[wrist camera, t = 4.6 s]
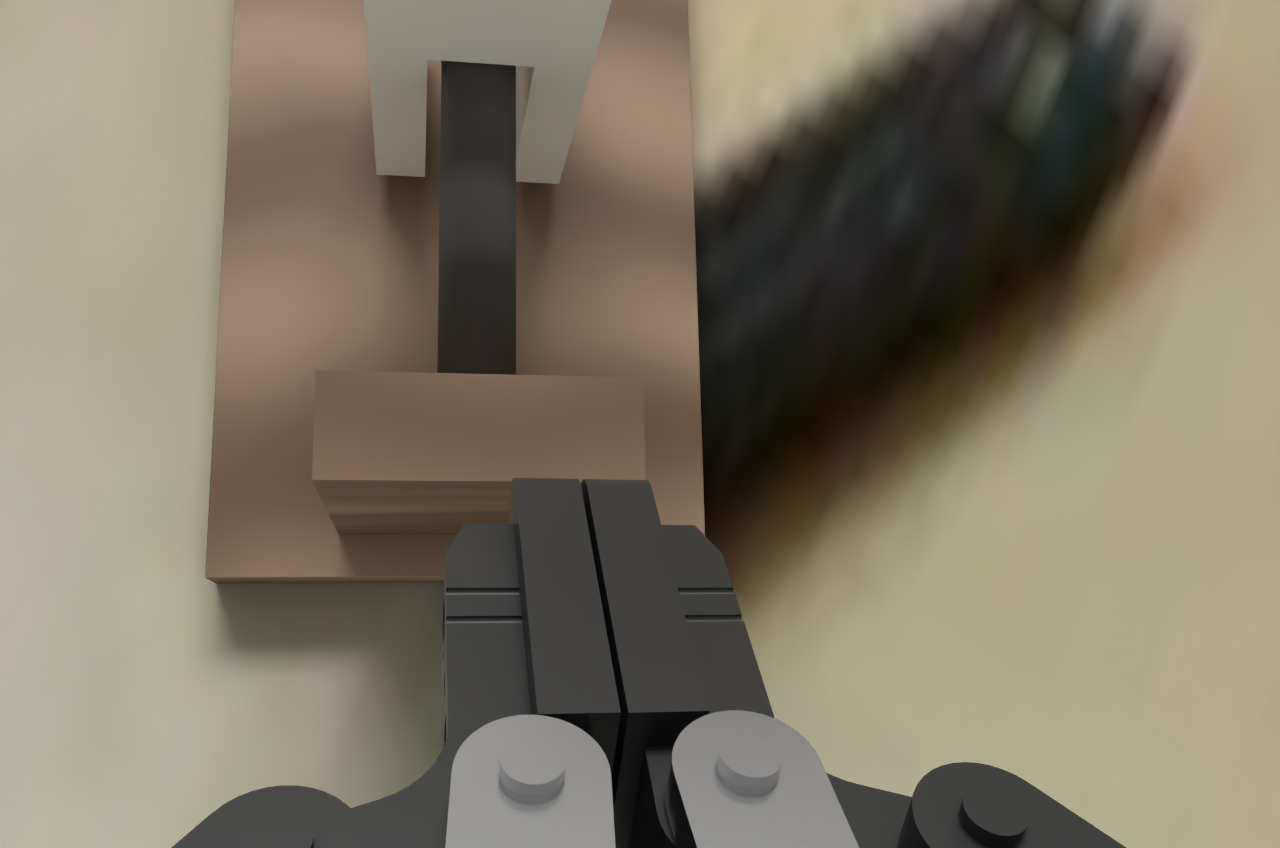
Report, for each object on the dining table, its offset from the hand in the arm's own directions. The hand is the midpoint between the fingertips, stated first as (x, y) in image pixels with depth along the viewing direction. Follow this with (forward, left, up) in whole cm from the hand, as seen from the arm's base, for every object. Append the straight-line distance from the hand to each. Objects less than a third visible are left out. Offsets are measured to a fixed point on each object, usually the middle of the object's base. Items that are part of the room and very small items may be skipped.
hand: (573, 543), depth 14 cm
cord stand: (+12, +13, -18) cm, 25 cm away
